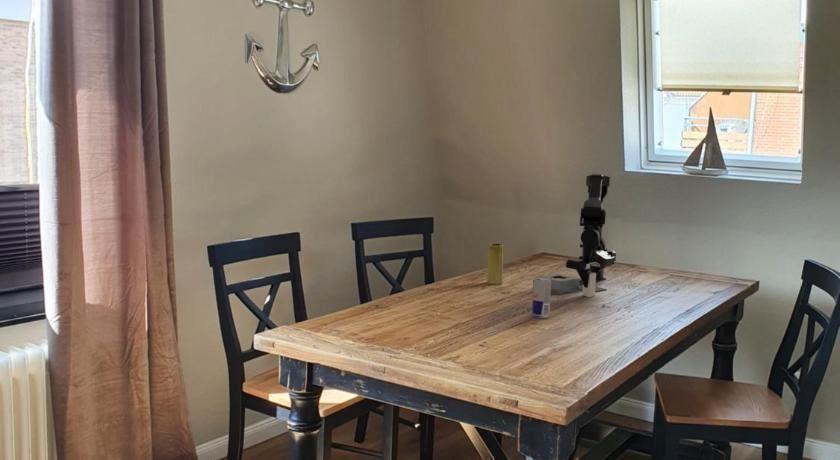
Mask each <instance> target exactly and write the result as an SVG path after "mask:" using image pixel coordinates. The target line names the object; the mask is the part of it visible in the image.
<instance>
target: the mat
mask: <svg viewBox="0 0 840 460" xmlns="http://www.w3.org/2000/svg"><path fill="white" fill-rule="evenodd" d="M607 290H608V289H607V288H603V287H599V286H595V293H600V292H604V291H607ZM579 291H581V292H583V285H582V286H579Z"/></svg>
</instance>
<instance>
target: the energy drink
mask: <svg viewBox="0 0 840 460" xmlns="http://www.w3.org/2000/svg"><path fill="white" fill-rule="evenodd" d="M532 283H533V284H532V285H533V286H532V302H531V303H532V309H531V311H532V312H531V315H532V317H533V318H535V319H540V320H541V319H549V317H550V315H551V314H550V311H551V293H552V292H551V280H550V278H547V277H540V276H536V277H534V278H533V281H532Z"/></svg>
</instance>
